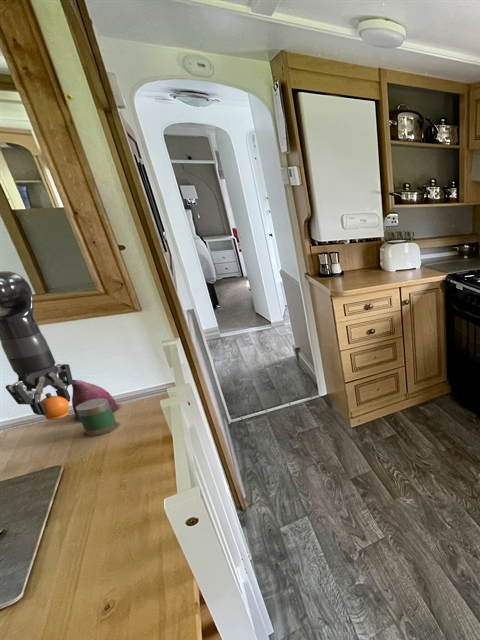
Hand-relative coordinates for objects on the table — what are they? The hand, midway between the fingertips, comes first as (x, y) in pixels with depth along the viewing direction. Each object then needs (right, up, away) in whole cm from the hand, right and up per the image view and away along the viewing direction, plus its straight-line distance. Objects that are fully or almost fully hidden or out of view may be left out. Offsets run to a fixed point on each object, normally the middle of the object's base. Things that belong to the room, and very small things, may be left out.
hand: (54, 407), depth 103 cm
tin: (0, -9, +14) cm, 16 cm away
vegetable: (-10, -5, +23) cm, 26 cm away
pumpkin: (0, -2, +1) cm, 3 cm away
